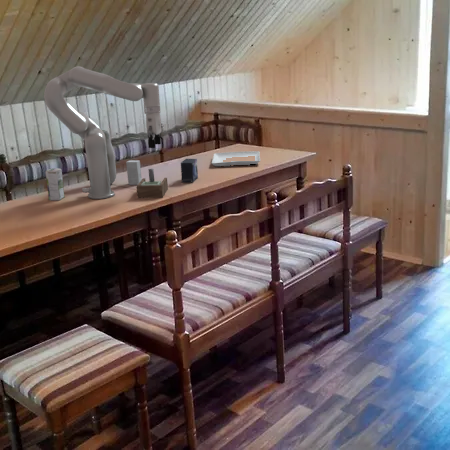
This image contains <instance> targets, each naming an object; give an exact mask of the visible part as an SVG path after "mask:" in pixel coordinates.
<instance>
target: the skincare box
mask: <svg viewBox="0 0 450 450" xmlns="http://www.w3.org/2000/svg"><path fill="white" fill-rule="evenodd" d="M125 164H126V173H127V181H128V183H127V184H128V185H129V186H137V185H138V184H139V183H140V181H141V180H142V179H143V178H142V169H141V161H140V160H137V159H136V160H131V159H129V160H128V161H126V162H125Z"/></svg>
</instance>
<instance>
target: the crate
mask: <svg viewBox="0 0 450 450" xmlns="http://www.w3.org/2000/svg"><path fill="white" fill-rule="evenodd" d="M147 171H148V179H149V181H146V182H143V183H142V184H141V186H149V185H160V184H161V182H162V180H157V181H156V180H155V171H154V168H148V170H147Z"/></svg>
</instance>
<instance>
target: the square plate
mask: <svg viewBox="0 0 450 450" xmlns="http://www.w3.org/2000/svg"><path fill="white" fill-rule="evenodd" d="M260 153H261V152H260V151H259V150H258V151H256V150H255V151H252V150H251V151H244V150H243V151H227V152H215V153H213V156H212V159H211V165H212V166H214V167H221V166H224V167H231V166H230V165H248V166H251V165H250V164H256V165H257V164H259V163H260V162H261V156H260ZM248 156H255V161H231V162H223V160H226V158H232V157H248Z"/></svg>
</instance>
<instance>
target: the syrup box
mask: <svg viewBox="0 0 450 450" xmlns="http://www.w3.org/2000/svg"><path fill="white" fill-rule="evenodd" d="M45 178H46V186H47V188H46V189H47V196H48V201H61V200H63V199H64V198H65V189H64V181H63V173H62V168H58V167H57V168H56V167H54V168H49V169H47V170H45ZM62 198H63V199H62Z"/></svg>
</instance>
